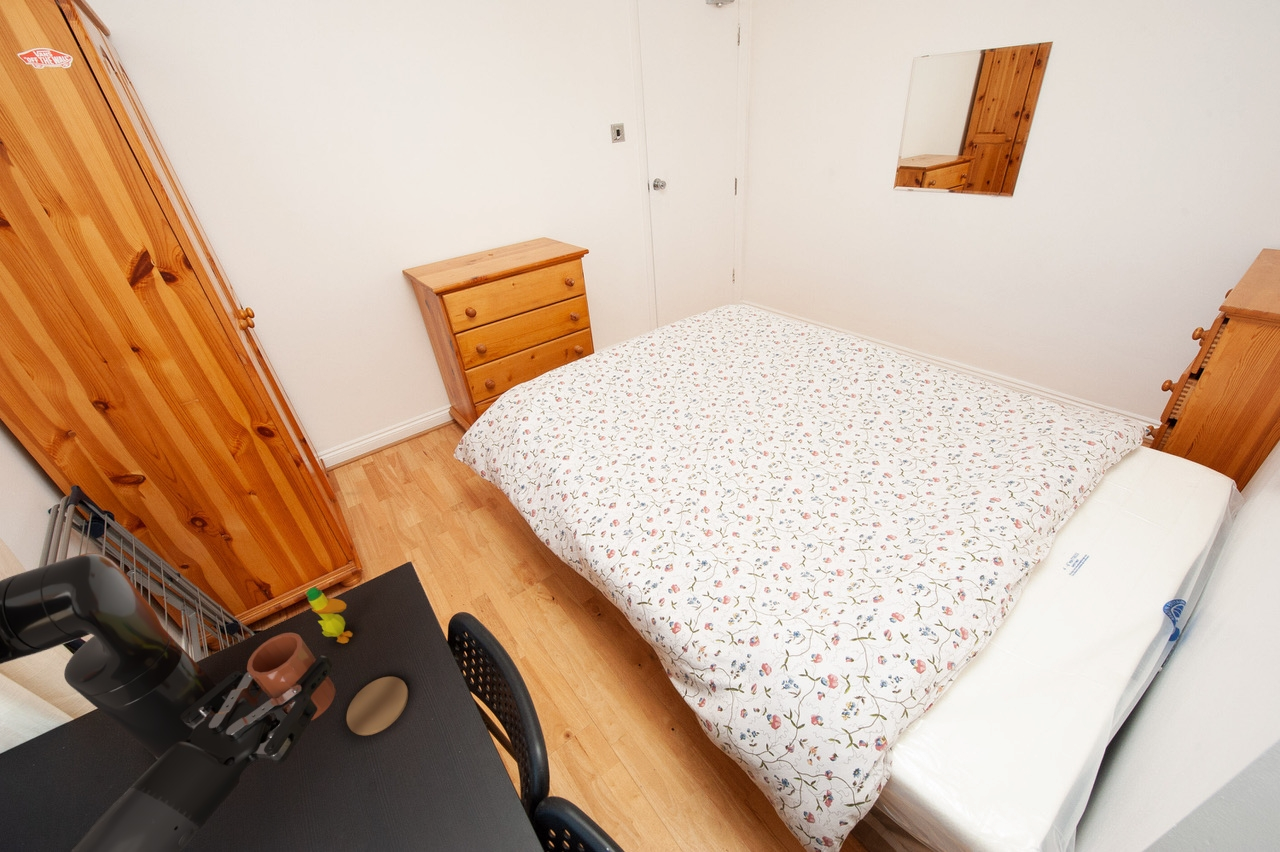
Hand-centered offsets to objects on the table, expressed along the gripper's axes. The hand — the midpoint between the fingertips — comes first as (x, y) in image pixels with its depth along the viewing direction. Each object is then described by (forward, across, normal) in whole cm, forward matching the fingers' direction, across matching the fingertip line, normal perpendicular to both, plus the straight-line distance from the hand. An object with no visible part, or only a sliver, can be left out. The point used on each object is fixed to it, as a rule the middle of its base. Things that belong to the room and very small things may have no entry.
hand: (307, 654), depth 61 cm
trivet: (+4, +1, +19) cm, 19 cm away
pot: (-3, 0, +6) cm, 7 cm away
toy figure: (+12, +15, +19) cm, 27 cm away
